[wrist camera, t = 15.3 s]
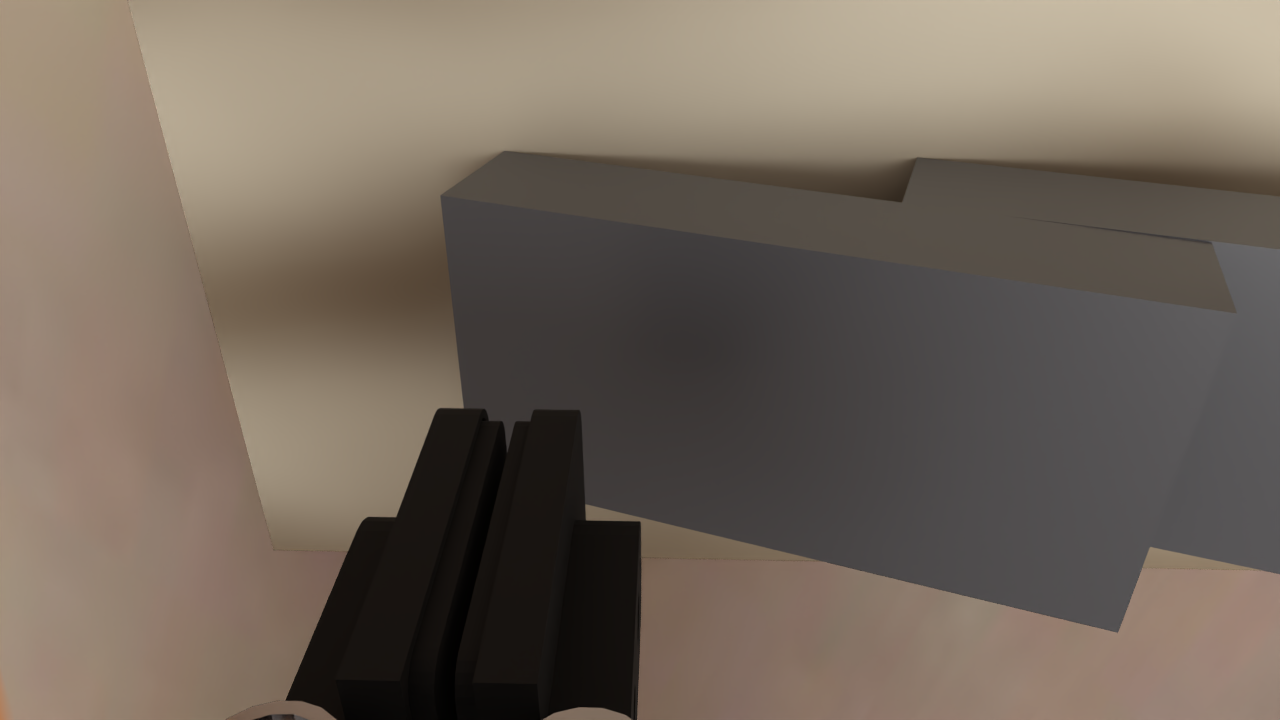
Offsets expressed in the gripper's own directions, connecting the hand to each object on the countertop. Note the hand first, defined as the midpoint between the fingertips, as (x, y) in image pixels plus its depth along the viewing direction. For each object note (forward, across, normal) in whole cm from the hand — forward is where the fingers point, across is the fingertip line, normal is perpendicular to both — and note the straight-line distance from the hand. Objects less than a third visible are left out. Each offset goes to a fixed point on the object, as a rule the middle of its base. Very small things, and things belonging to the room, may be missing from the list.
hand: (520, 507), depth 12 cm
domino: (+5, +1, 0) cm, 5 cm away
